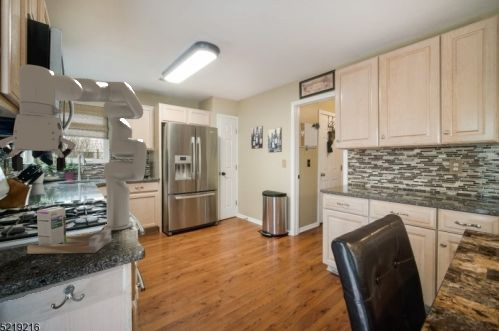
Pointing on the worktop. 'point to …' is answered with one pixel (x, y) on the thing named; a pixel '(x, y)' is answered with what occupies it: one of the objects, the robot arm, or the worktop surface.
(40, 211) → the syrup box
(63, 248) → the rail channel
